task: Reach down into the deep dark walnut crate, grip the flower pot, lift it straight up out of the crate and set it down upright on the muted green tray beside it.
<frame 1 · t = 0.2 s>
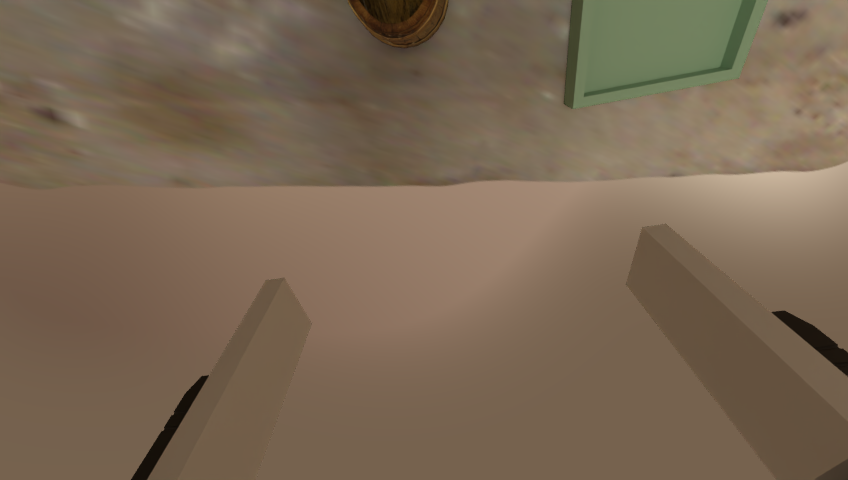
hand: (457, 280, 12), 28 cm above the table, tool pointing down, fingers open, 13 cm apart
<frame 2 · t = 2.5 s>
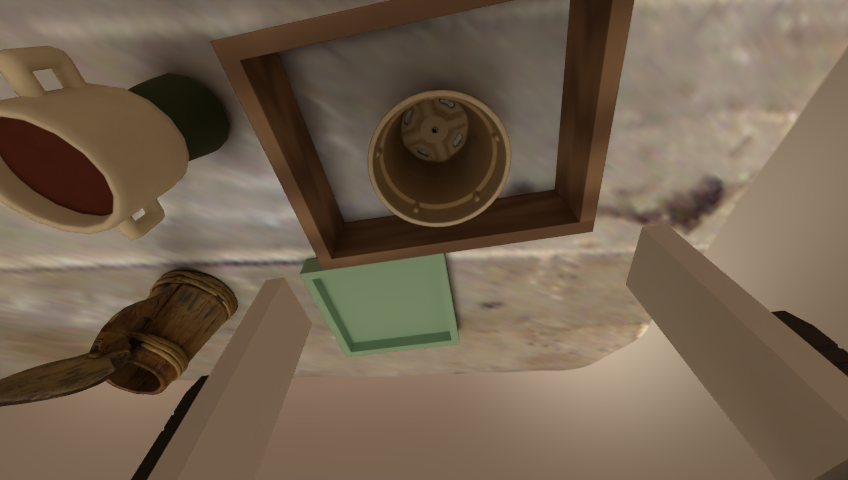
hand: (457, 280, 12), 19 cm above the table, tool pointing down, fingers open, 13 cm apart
green tray: (389, 297, 40), on the table
character mug: (195, 112, 26), on the table
flower pot: (434, 129, 27), resting in walnut crate
wooden mug: (195, 281, 38), on the table
walnut crate: (434, 129, 27), on the table
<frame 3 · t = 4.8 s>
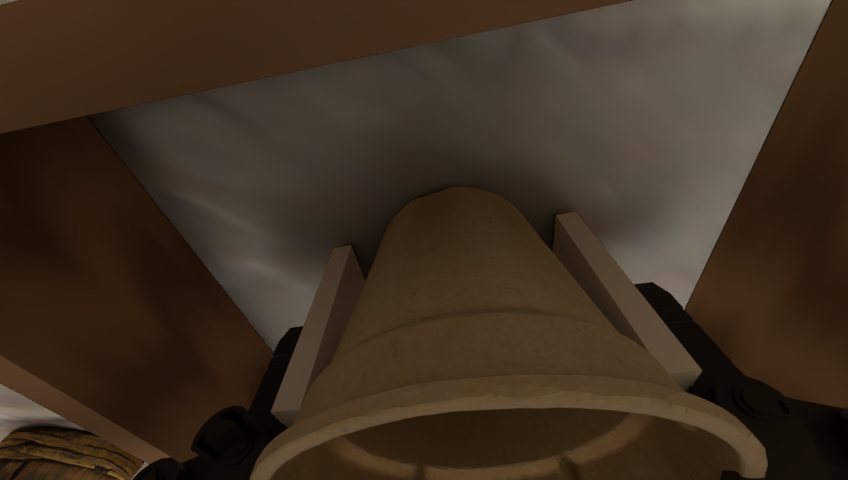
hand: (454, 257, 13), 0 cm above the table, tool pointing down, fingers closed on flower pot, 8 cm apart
flower pot: (454, 248, 13), resting in walnut crate, touching gripper
wooden mug: (68, 435, 24), on the table
walnut crate: (454, 252, 13), on the table
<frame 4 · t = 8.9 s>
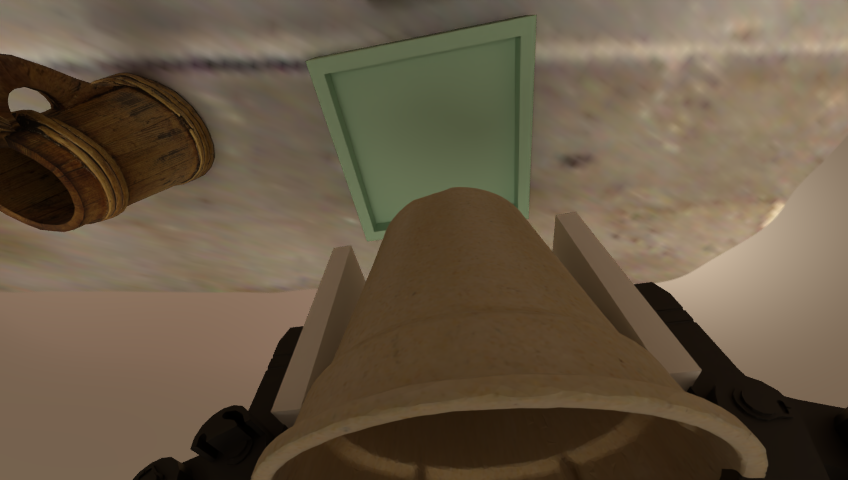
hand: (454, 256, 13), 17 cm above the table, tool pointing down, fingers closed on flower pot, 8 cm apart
green tray: (433, 142, 28), on the table
flower pot: (455, 248, 13), point 17 cm above the table, touching gripper
wooden mug: (150, 104, 26), on the table
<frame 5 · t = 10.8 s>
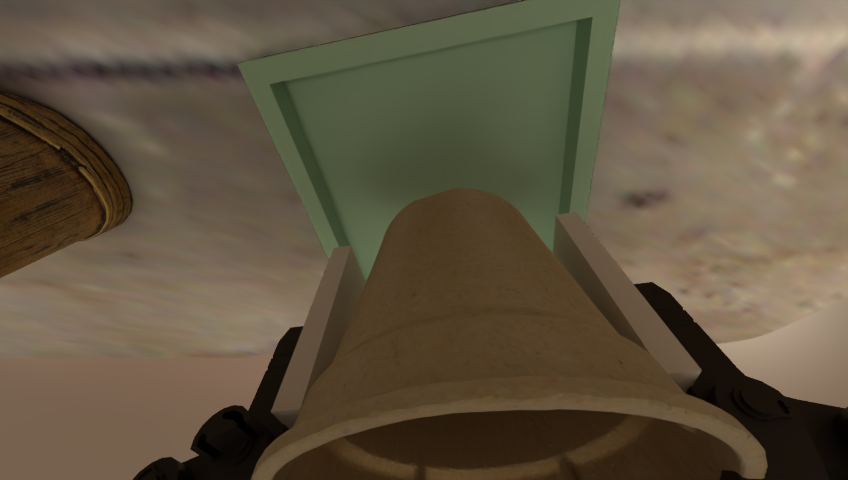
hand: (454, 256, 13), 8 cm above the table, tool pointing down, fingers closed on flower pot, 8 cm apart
green tray: (442, 177, 19), on the table
flower pot: (455, 249, 13), point 7 cm above the table, touching gripper
wooden mug: (26, 130, 17), on the table
when the fingers open (3 cm above the table, at t = 12.6 s): flower pot stays where it is, point 1 cm above the table.
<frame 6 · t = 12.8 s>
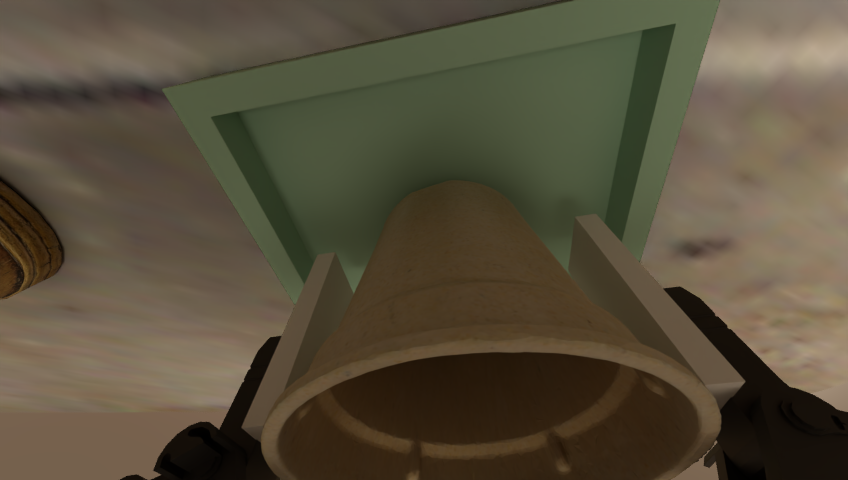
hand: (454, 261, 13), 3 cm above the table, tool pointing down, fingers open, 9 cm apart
green tray: (449, 223, 15), on the table
flower pot: (451, 240, 14), point 1 cm above the table, touching gripper
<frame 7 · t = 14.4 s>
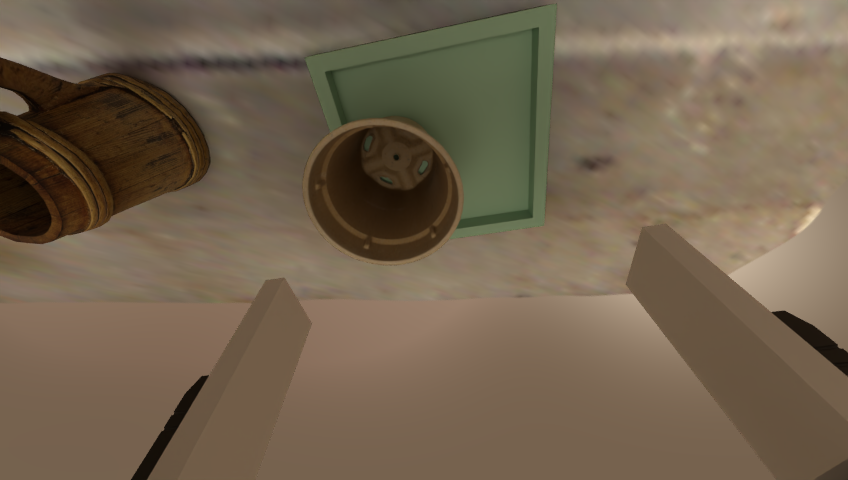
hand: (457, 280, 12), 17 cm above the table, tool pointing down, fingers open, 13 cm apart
green tray: (441, 144, 26), on the table
flower pot: (397, 155, 25), point 1 cm above the table, touching green tray
wooden mug: (142, 107, 24), on the table
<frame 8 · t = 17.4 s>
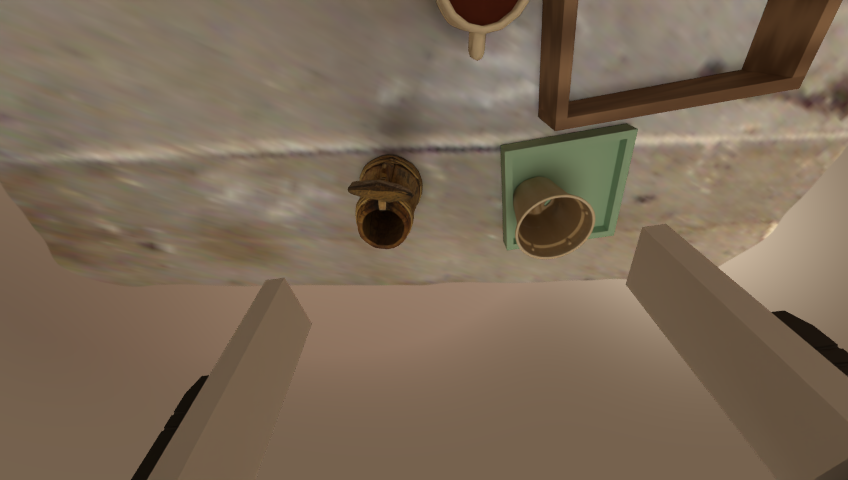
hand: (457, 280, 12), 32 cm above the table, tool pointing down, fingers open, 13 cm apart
green tray: (557, 189, 45), on the table
flower pot: (533, 195, 44), point 1 cm above the table, touching green tray
wooden mug: (392, 170, 43), on the table
walnut crate: (660, 5, 32), on the table
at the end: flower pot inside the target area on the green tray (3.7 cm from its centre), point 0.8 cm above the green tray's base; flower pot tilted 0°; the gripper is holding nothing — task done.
